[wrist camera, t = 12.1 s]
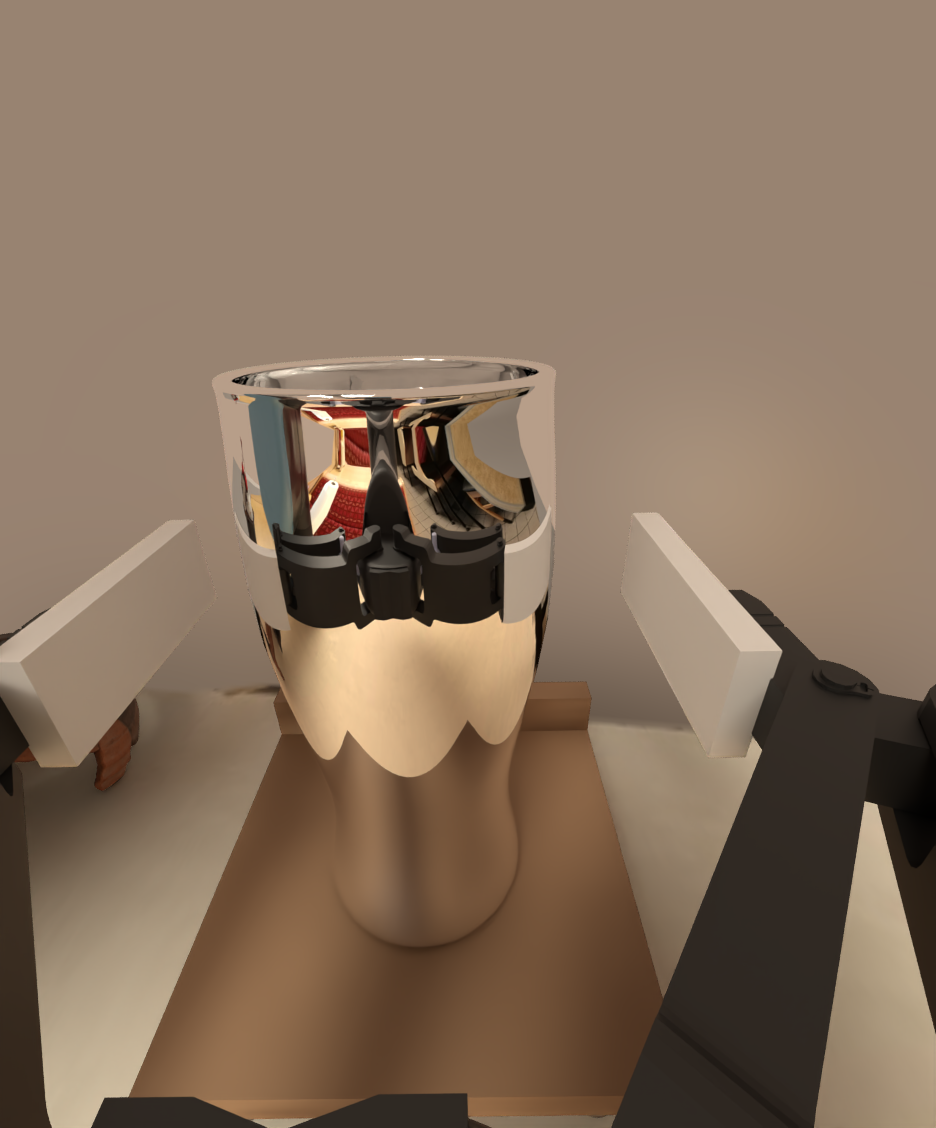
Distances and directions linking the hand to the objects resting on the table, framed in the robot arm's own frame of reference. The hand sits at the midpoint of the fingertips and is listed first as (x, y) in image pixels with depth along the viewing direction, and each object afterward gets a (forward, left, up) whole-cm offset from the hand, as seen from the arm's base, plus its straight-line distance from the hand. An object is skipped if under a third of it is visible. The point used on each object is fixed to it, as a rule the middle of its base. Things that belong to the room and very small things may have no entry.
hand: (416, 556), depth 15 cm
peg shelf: (0, -3, -14) cm, 14 cm away
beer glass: (0, -3, -9) cm, 10 cm away
